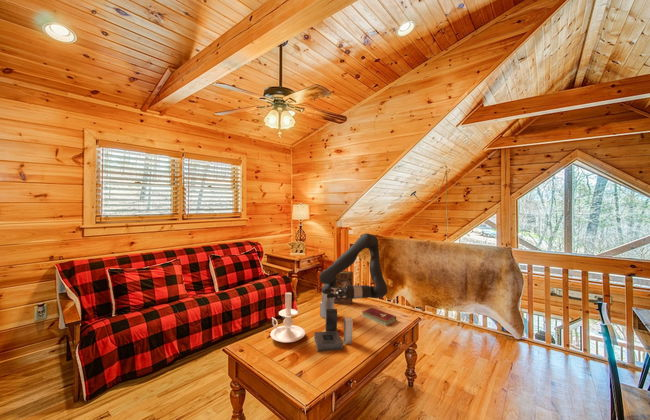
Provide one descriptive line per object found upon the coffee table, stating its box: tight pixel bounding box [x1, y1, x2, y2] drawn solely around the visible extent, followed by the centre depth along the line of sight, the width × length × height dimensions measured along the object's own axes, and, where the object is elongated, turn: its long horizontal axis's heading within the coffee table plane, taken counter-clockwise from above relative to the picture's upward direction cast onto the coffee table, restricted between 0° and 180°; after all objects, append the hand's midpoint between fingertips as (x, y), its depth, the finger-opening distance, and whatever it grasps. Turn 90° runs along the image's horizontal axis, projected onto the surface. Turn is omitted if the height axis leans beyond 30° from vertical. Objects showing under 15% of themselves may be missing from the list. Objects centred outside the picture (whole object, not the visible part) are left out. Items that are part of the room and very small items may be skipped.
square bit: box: [343, 316, 354, 345], centre depth 160 cm, size 4×4×14 cm
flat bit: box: [324, 308, 338, 332], centre depth 174 cm, size 7×2×14 cm, turn 100°
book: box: [334, 270, 354, 305], centre depth 221 cm, size 16×6×25 cm, turn 84°
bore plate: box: [313, 330, 344, 353], centre depth 157 cm, size 14×14×4 cm
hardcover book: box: [361, 306, 397, 327], centre depth 193 cm, size 12×21×4 cm, turn 44°
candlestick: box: [270, 292, 306, 344], centre depth 164 cm, size 21×25×28 cm
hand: (325, 293), depth 156 cm, fingers open, 8 cm apart
